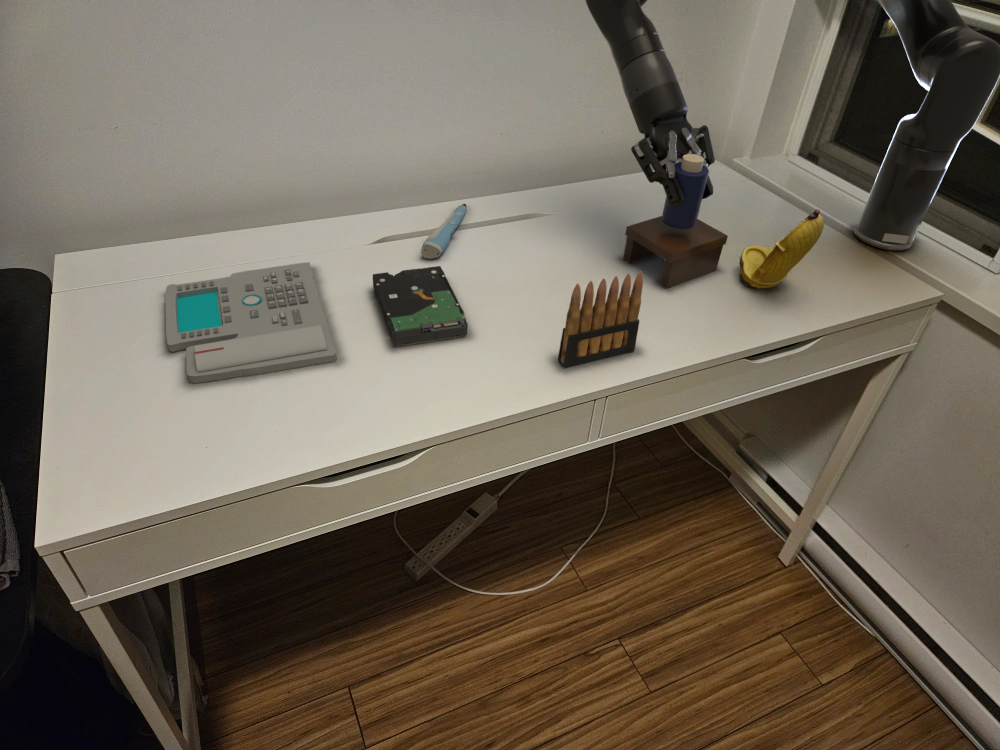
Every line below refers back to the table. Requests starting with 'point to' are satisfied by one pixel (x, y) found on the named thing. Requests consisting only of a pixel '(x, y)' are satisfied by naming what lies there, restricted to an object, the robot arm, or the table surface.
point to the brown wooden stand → (675, 248)
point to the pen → (442, 234)
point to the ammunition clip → (601, 322)
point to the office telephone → (248, 323)
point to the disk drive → (419, 306)
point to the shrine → (779, 255)
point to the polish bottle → (687, 192)
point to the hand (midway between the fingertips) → (693, 200)
